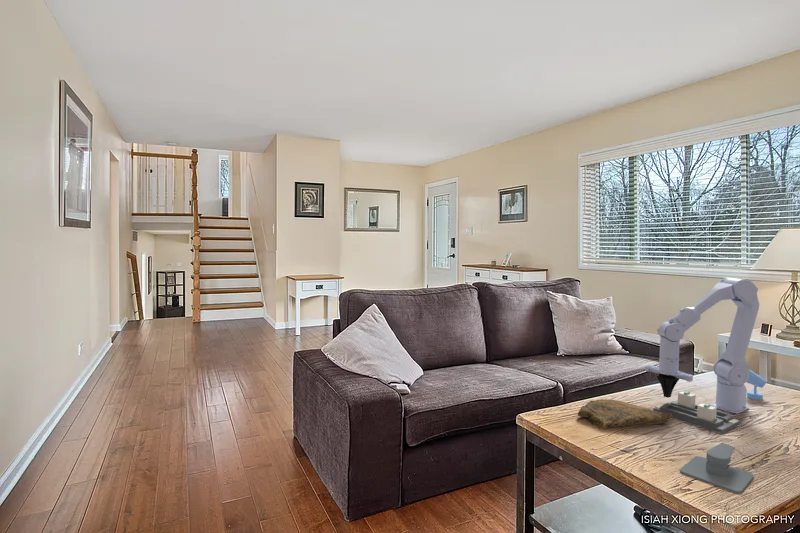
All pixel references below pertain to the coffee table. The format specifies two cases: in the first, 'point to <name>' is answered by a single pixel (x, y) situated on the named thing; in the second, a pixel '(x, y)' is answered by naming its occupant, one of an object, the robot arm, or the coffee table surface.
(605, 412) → the rock
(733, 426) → the switch bank
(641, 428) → the coffee table surface
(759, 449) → the coffee table surface
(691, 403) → the tab
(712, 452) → the shower valve
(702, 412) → the tab
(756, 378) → the spotlight
